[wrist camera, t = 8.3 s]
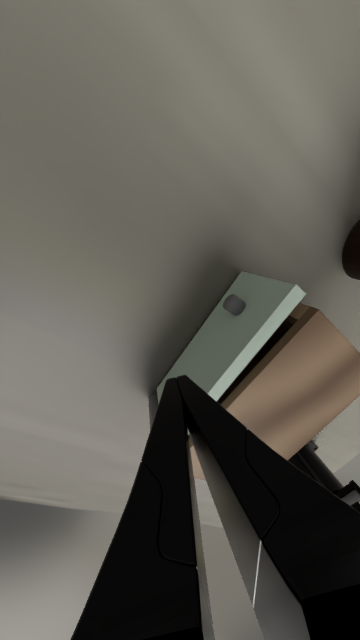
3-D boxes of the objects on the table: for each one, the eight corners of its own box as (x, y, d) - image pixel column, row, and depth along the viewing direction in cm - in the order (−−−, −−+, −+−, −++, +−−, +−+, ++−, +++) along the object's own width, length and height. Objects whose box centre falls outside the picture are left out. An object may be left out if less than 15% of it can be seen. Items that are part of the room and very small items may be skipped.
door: (250, 278, 15) (310, 295, 10) (156, 404, 19) (163, 470, 13) (233, 264, 15) (287, 274, 9) (138, 398, 18) (137, 465, 12)
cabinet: (311, 338, 20) (381, 375, 14) (224, 428, 23) (253, 491, 17) (254, 286, 16) (319, 309, 10) (159, 403, 19) (168, 471, 13)
